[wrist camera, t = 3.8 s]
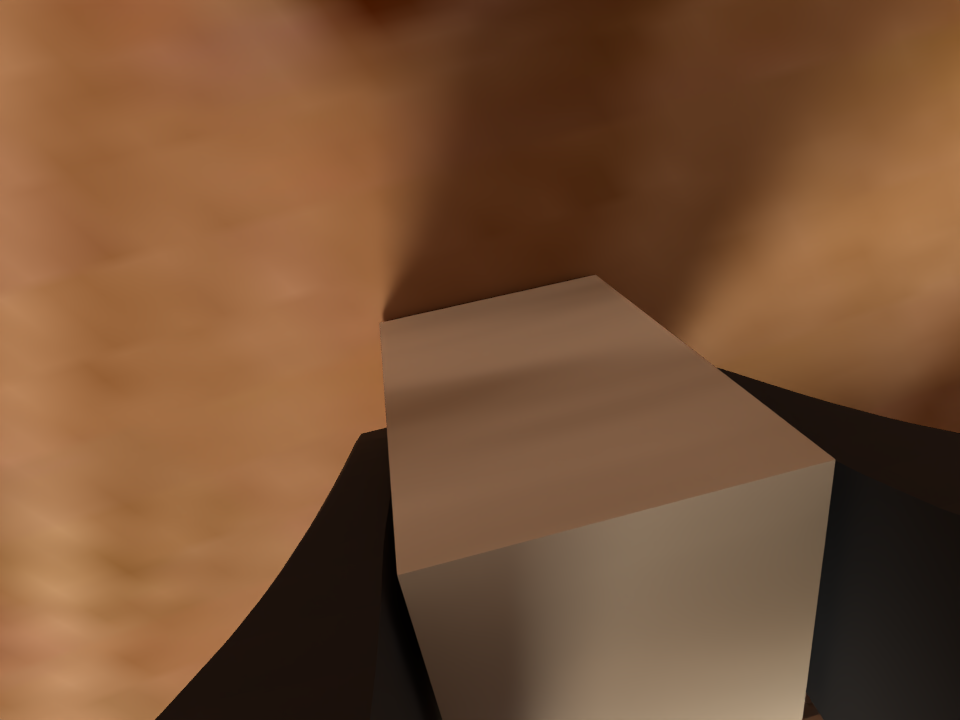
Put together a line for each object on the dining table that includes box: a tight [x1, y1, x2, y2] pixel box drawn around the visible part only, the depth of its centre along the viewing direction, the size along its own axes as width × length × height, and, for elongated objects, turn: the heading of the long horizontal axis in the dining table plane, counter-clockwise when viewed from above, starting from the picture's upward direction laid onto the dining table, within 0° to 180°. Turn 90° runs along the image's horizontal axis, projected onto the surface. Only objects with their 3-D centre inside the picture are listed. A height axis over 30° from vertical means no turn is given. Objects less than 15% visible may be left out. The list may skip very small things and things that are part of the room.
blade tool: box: [380, 275, 835, 720], centre depth 11 cm, size 14×4×6 cm, turn 10°
